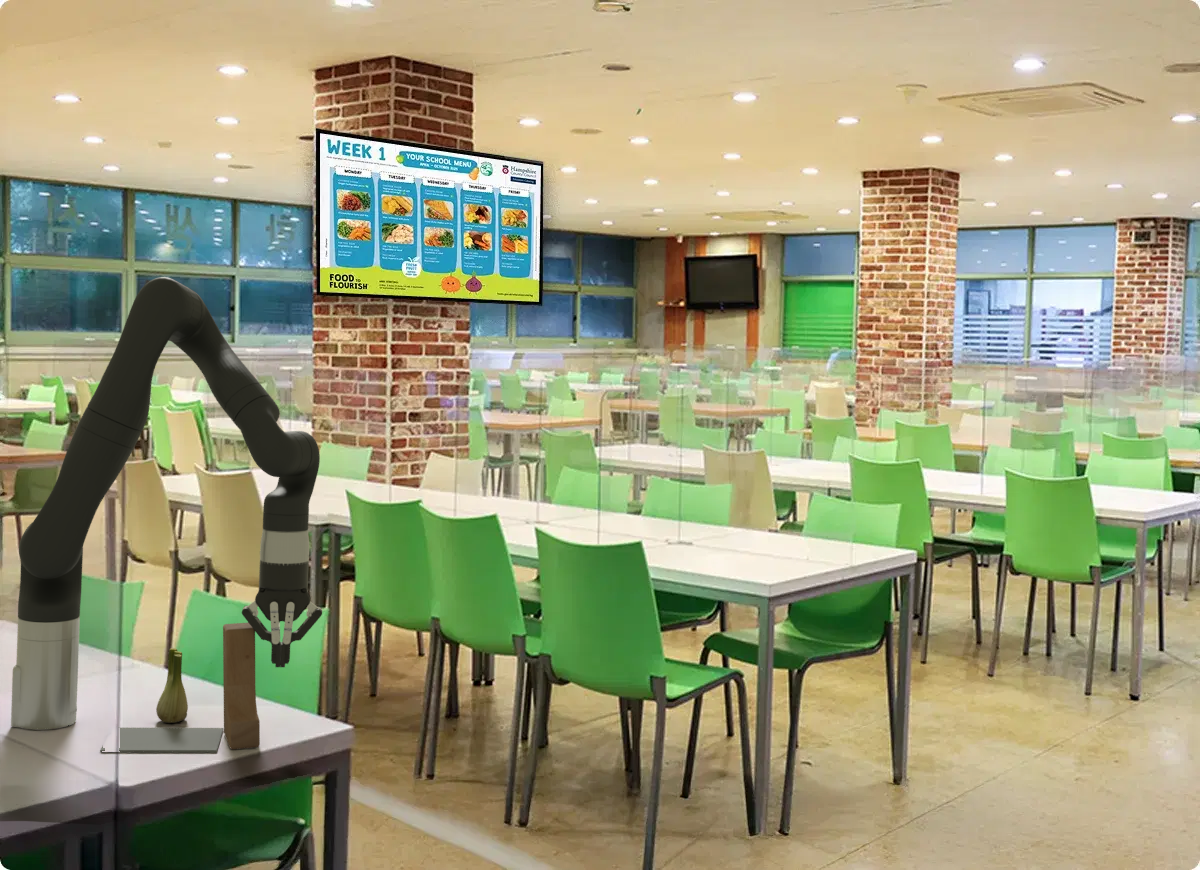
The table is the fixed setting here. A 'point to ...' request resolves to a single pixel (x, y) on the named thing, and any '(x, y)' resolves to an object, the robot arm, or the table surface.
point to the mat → (169, 740)
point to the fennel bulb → (173, 692)
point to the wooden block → (240, 687)
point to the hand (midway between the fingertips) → (280, 666)
